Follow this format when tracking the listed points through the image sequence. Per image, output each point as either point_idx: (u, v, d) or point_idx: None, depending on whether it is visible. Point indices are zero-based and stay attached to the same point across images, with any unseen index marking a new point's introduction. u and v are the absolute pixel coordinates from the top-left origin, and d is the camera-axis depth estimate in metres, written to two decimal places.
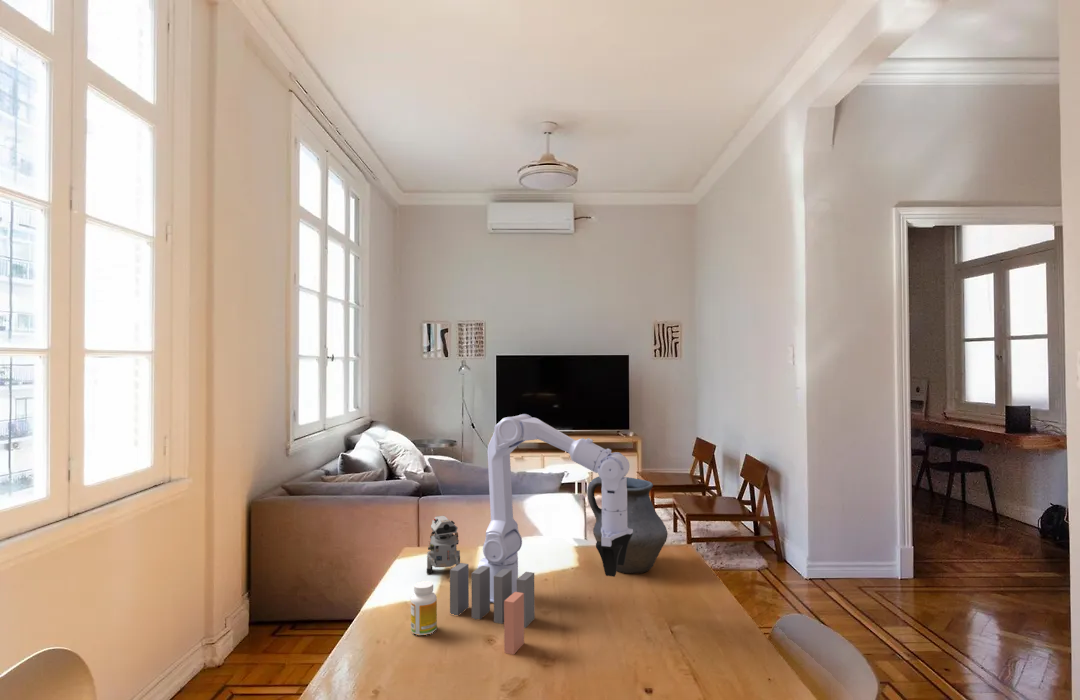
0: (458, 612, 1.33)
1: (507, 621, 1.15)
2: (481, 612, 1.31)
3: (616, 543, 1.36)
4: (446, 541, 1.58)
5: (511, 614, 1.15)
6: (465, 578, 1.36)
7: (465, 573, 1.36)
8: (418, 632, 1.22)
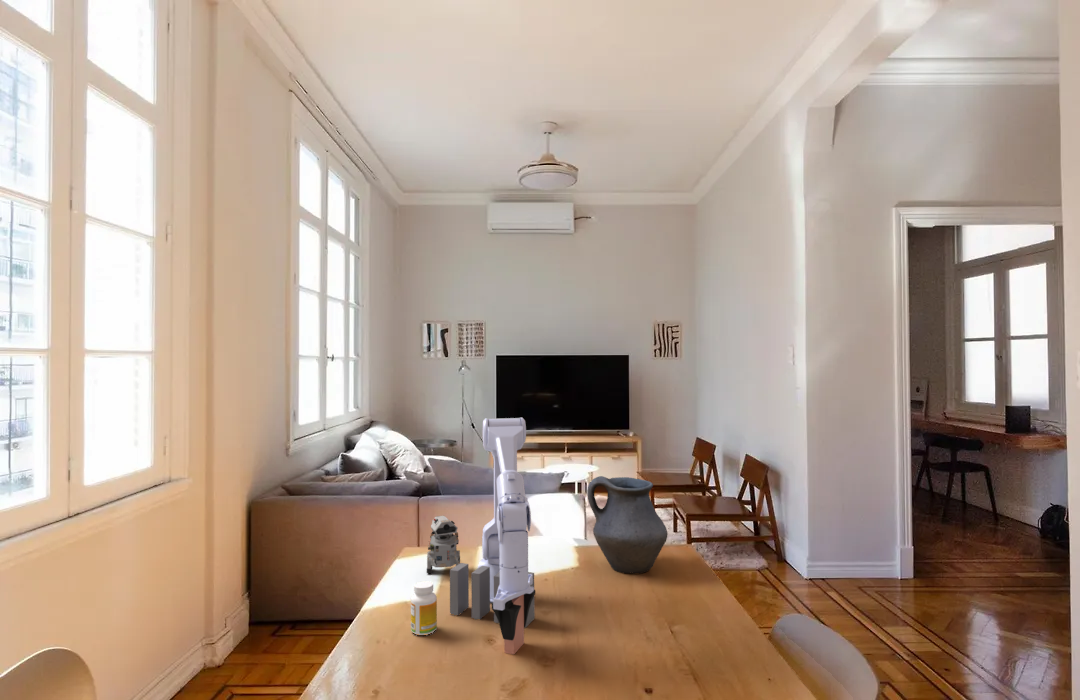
0: (458, 612, 1.33)
1: None
2: (481, 612, 1.31)
3: None
4: (446, 541, 1.58)
5: None
6: (465, 578, 1.36)
7: (465, 573, 1.36)
8: (418, 632, 1.22)
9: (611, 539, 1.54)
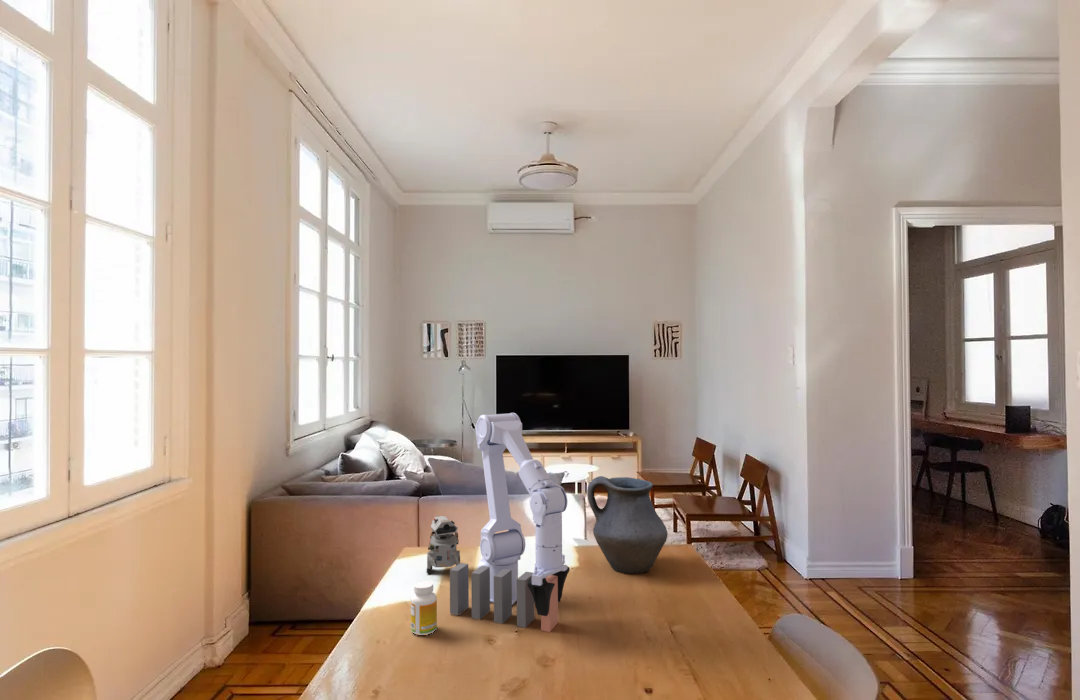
0: (458, 612, 1.33)
1: None
2: (481, 612, 1.31)
3: None
4: (446, 541, 1.58)
5: None
6: (465, 578, 1.36)
7: (465, 573, 1.36)
8: (418, 632, 1.22)
9: (611, 539, 1.54)
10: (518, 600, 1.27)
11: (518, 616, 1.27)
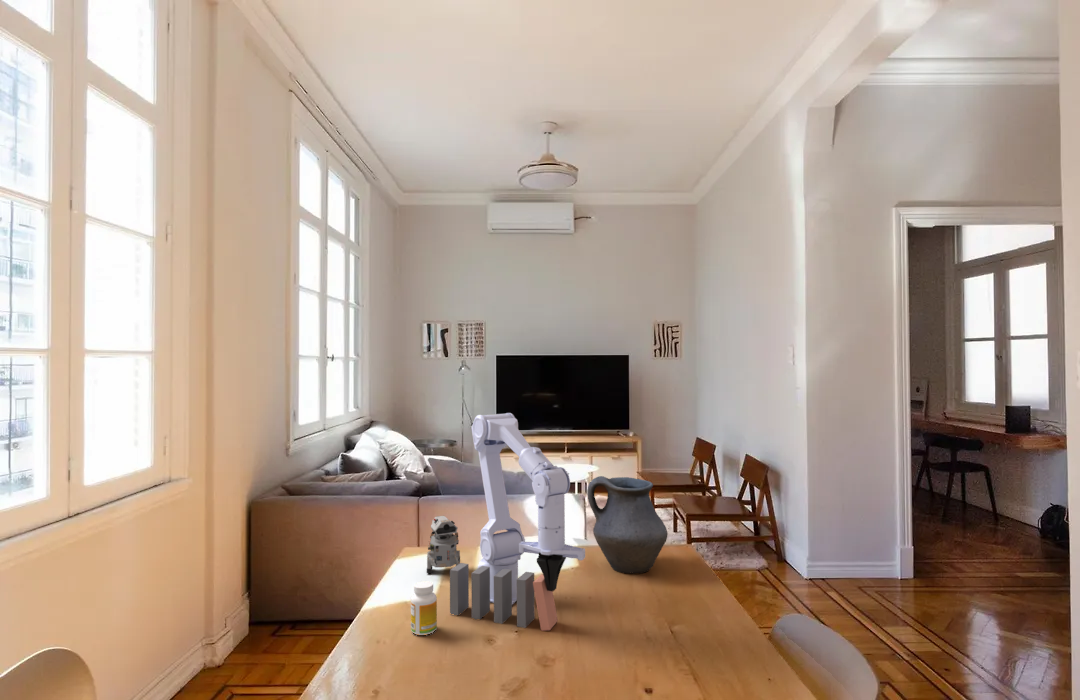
0: (458, 612, 1.33)
1: (539, 600, 1.25)
2: (481, 612, 1.31)
3: None
4: (446, 541, 1.58)
5: (541, 593, 1.25)
6: (465, 578, 1.36)
7: (465, 573, 1.36)
8: (418, 632, 1.22)
9: (611, 539, 1.54)
10: (518, 601, 1.27)
11: (518, 616, 1.27)
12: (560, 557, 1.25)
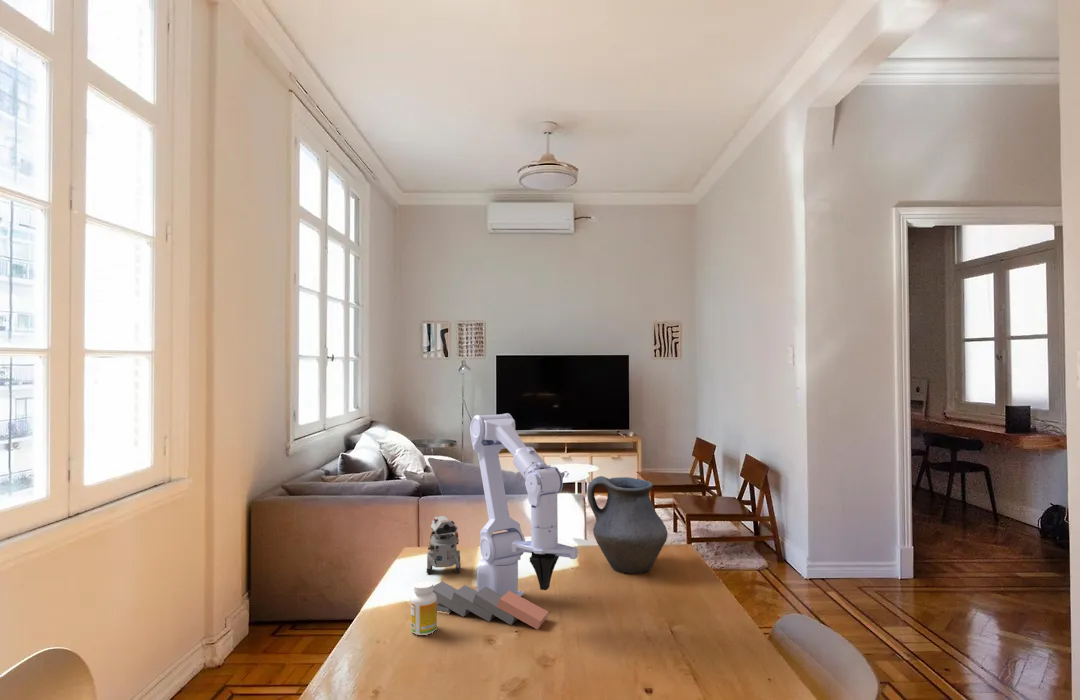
0: None
1: (513, 612, 1.27)
2: None
3: None
4: (446, 541, 1.58)
5: (508, 605, 1.27)
6: None
7: None
8: (418, 632, 1.22)
9: (611, 539, 1.54)
10: (490, 611, 1.29)
11: (503, 618, 1.28)
12: (553, 556, 1.26)
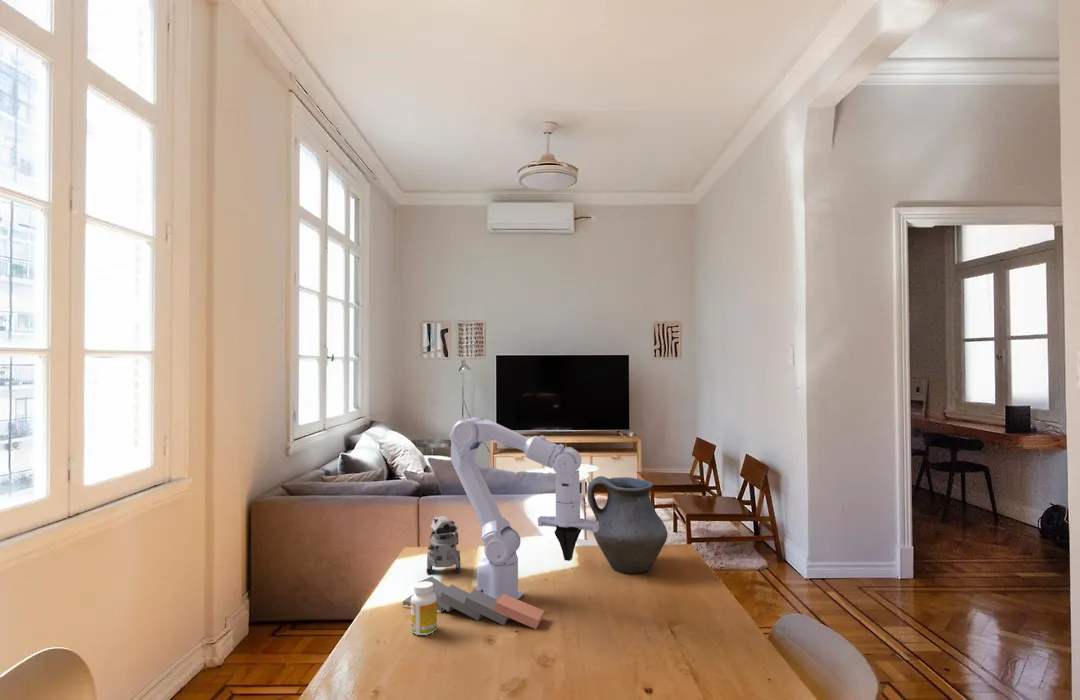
0: None
1: (510, 614, 1.27)
2: None
3: None
4: (446, 541, 1.58)
5: (505, 608, 1.27)
6: None
7: None
8: (418, 632, 1.22)
9: (611, 539, 1.54)
10: (482, 613, 1.29)
11: (495, 619, 1.28)
12: (576, 529, 1.37)
